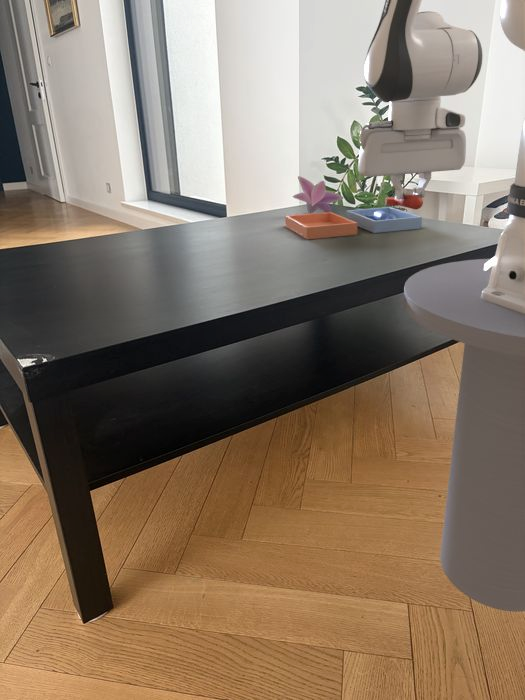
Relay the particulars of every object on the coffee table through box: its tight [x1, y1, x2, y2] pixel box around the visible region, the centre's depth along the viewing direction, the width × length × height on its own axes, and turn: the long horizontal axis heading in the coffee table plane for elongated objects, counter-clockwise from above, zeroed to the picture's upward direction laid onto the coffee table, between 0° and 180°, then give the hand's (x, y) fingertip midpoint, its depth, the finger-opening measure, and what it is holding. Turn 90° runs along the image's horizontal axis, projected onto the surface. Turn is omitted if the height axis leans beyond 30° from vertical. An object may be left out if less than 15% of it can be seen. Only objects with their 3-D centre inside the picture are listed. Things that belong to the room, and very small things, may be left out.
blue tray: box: [345, 206, 423, 234], centre depth 124 cm, size 15×11×2 cm
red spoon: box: [385, 193, 424, 210], centre depth 106 cm, size 11×4×2 cm, turn 14°
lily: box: [292, 175, 344, 214], centre depth 135 cm, size 12×12×10 cm
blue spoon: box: [366, 211, 396, 221], centre depth 124 cm, size 11×4×2 cm, turn 15°
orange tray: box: [284, 211, 358, 241], centre depth 121 cm, size 15×11×2 cm
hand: (410, 198), depth 104 cm, fingers closed on red spoon, 2 cm apart
